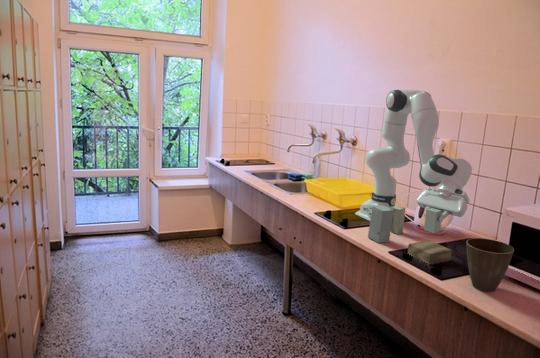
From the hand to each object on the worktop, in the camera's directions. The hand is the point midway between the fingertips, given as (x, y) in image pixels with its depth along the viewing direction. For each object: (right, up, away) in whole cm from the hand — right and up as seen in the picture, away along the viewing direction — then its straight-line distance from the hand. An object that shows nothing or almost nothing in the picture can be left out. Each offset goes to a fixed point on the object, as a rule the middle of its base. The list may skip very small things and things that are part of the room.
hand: (432, 218), depth 170 cm
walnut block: (0, -17, +4) cm, 18 cm away
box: (-4, -10, +34) cm, 36 cm away
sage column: (0, -5, +2) cm, 5 cm away
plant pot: (+10, -23, -22) cm, 33 cm away
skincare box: (-16, -12, +23) cm, 31 cm away
